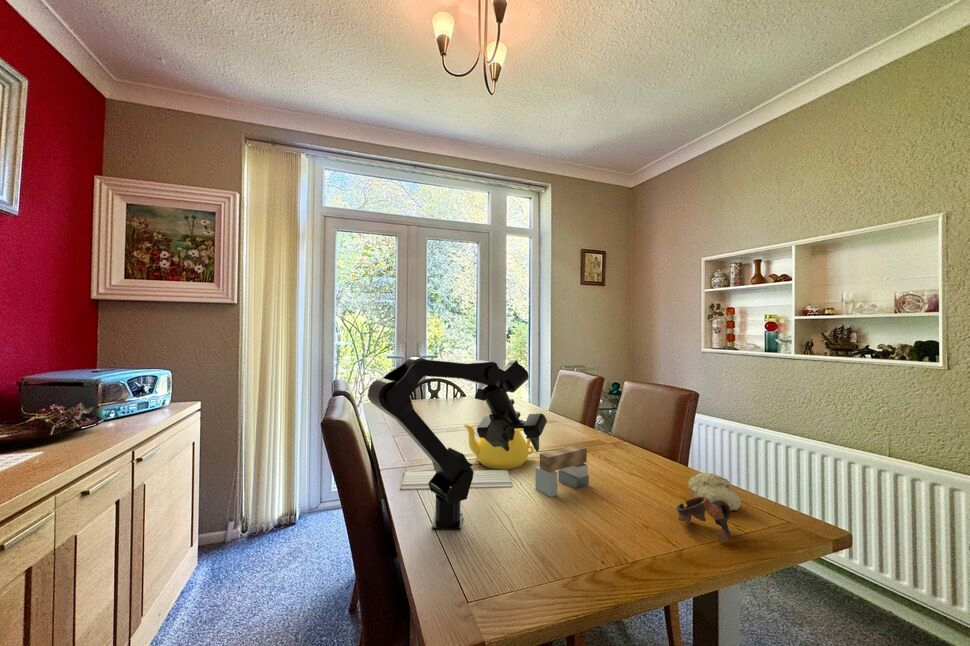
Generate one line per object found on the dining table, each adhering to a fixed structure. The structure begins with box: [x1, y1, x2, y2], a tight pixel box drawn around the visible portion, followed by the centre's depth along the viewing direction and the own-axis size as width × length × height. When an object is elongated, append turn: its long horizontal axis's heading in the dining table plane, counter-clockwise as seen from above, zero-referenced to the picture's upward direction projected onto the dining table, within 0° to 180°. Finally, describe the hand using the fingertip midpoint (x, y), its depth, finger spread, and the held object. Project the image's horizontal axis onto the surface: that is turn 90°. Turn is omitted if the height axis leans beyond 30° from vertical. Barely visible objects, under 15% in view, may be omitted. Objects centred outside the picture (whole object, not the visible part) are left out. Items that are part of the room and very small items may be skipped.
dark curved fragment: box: [676, 496, 732, 545], centre depth 82 cm, size 12×10×8 cm
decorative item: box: [687, 472, 741, 512], centre depth 95 cm, size 12×9×10 cm
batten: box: [539, 444, 588, 472], centre depth 104 cm, size 15×4×4 cm, turn 124°
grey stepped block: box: [558, 463, 590, 491], centre depth 107 cm, size 5×7×6 cm
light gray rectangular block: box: [535, 465, 558, 498], centre depth 101 cm, size 2×6×6 cm, turn 34°
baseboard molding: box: [399, 469, 513, 491], centre depth 107 cm, size 31×3×12 cm
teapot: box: [462, 423, 535, 470], centre depth 124 cm, size 25×18×14 cm
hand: (522, 450), depth 98 cm, fingers open, 9 cm apart
